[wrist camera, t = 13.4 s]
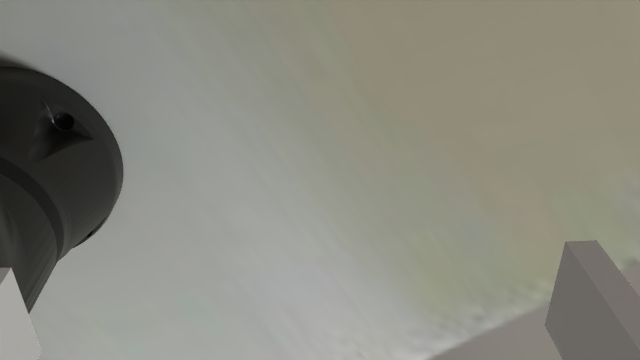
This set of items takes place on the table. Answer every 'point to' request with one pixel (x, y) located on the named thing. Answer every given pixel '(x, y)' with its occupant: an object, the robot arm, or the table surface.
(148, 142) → the table surface
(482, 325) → the table surface
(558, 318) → the robot arm
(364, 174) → the table surface
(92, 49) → the table surface
